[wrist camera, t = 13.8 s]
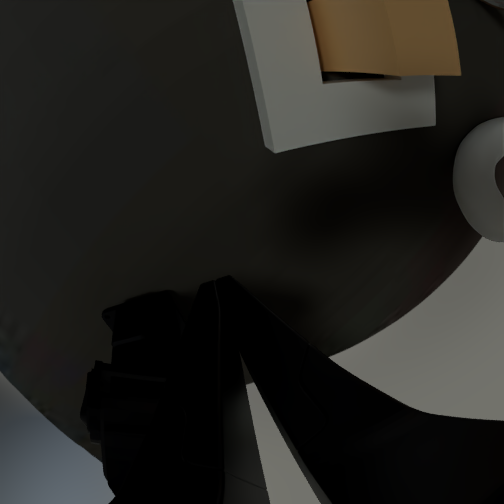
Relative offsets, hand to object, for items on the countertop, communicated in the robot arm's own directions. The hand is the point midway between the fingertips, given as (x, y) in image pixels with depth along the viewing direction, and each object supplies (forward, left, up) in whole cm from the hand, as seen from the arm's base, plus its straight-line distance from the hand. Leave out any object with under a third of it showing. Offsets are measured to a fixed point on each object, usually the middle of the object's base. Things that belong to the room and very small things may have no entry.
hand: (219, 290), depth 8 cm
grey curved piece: (-3, -28, -12) cm, 31 cm away
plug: (+9, -12, -12) cm, 19 cm away
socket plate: (+7, -12, -12) cm, 18 cm away
